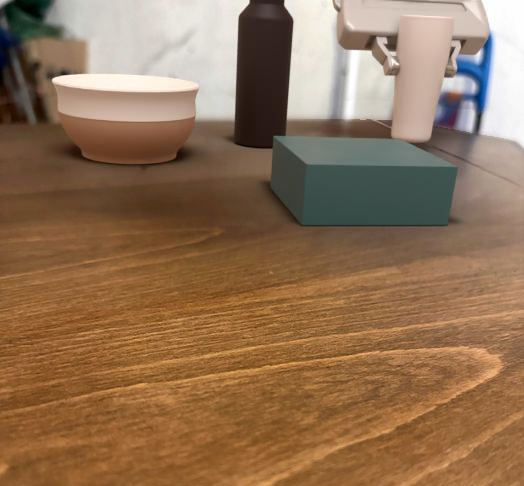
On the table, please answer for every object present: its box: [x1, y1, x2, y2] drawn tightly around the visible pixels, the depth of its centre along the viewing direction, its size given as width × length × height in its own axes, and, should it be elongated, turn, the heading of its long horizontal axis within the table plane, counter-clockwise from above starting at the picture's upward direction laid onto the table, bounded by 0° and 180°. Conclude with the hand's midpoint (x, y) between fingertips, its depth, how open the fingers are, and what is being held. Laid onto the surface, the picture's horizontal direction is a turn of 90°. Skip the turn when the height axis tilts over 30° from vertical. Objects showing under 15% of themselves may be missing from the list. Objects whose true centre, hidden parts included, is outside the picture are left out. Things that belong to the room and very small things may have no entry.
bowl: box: [51, 73, 201, 165], centre depth 75 cm, size 16×16×8 cm
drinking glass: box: [390, 15, 455, 144], centre depth 87 cm, size 7×7×15 cm
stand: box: [269, 135, 459, 226], centre depth 61 cm, size 13×13×5 cm
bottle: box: [233, 0, 295, 149], centre depth 84 cm, size 7×7×20 cm
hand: (421, 73), depth 86 cm, fingers closed on drinking glass, 6 cm apart
